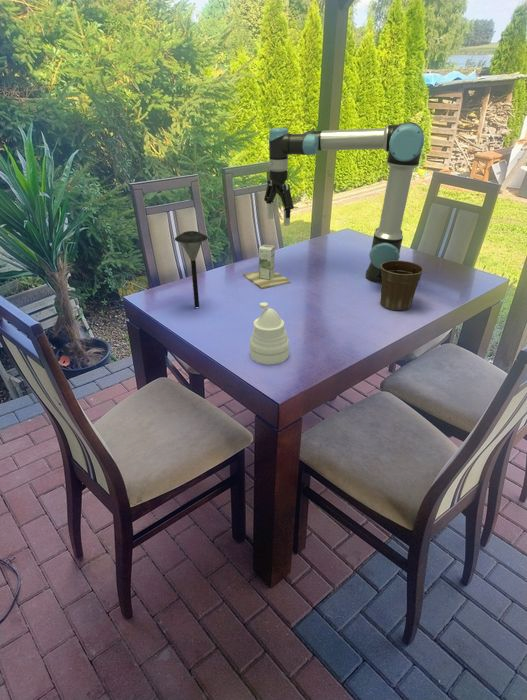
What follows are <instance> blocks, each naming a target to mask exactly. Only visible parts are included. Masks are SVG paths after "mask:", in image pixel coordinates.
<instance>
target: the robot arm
mask: <svg viewBox="0 0 527 700" xmlns="http://www.w3.org/2000/svg"><path fill="white" fill-rule="evenodd" d="M268 137H269V138H268V148H269V149H268V151H269V152H268V153H269V157H268V158H269V163H268V164H269V169H270V170H269V171H268V173H269V174H268V175H269V177H268V178H269V180H267V185H266V191H265V195H264V199H263V201H265V203H266V204H267V206H266V209H267V213H266V214H267V215H266V216H267V217H266V218H267V220H271V219H274V199H275V197H276V196H277V195H278V196H279V197H280V199H281V203H282V205H283V208H284V209H283V226H284V227H288V226H291V210H293V209H294V203H293V202H294V201H293V198H292V193H291V186H290V183H289V184H288V183H287V184H286V181H287V180H288V169H289V164H288V163H289V159H288V157H289V155H299V156H314V155H317V153H318V152H319V151H351V150H352V151H355V150H359V151H362V150H383V151H384V152H385V153H388V154H387V159H386V160H387V161H386V164H387V165H388V166H389V171H388V177H387V182H386V188H385V193H384V197H383V202H382V203H383V205H382V209H381V214H380V221H379V226H378V227H377V228H375V231H374V234H373V238H372V243H371V250H369V251H370V252H369V259H370V263H369V265H368V267H367V269H366V271H365V278H366V279H367V280H368V281H370V282H373V283H377V284H381V283H382V276H381V267H380V266H381V264H382V263H383V262H387V261H394V260H398V261H400V253H401V247H402V243H403V239H404V236H403V230H402V225H403V220H404V215H405V210H406V205H407V200H408V196H409V191H410V186H411V181H412V177H413V172H414V170H415V169H416V168H417V167H418V166H419V163H420V158H421V155H422V149H423V148H424V144H425V143H424V142H425V136H424V131H423V129H422V127H421V126H420V125H419V124H417V123H416V122H412V121H410V122H409V121H408V122H407V121H406V122H403V123H397V124H388V125H387V126H385V127H379V128H358V129H357V128H356V129H355V128H354V129H337V130H336V129H333V130H332V129H331V130H329V129H328V130H327V129H326V130H313V129H312V130H311V129H310V130H307V131H305V132H303V133H289V129H288V128H287V127H274V128H273V127H272V128H270V130H269V135H268Z"/></svg>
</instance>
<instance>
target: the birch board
mask: <svg viewBox="0 0 527 700" xmlns="http://www.w3.org/2000/svg"><path fill="white" fill-rule="evenodd" d="M242 276H243V277H244V276H245V277H246V278H245V277H244V278H245V279H246V280H248V279H249V280H250V281H249V280H248V281H249V282H251V283H252V284H253V283H254V284H253V285H255V286H256V287H258V288H259V289H260V290H264V289H269V288H273V287H278V286H283V285H288V284H291V280H290V279H289V278H287V277H286V276H284V275H282V274H280V273H279V272H278V271H276V270H274V277H273V278H272V279H271V280H267V279H260V278H259V270H256V271H251V272H245V273H243V274H242Z"/></svg>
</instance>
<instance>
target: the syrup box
mask: <svg viewBox="0 0 527 700" xmlns="http://www.w3.org/2000/svg"><path fill="white" fill-rule="evenodd" d="M275 249H276V247H275V245H271V244H262V245H260V246H259V248H258V271H259V278H260V279H267V280H271V279H272V278H273V277H274V271H275V258H276V257H275V254H276V253H275V252H276V251H275Z"/></svg>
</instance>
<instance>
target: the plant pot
mask: <svg viewBox="0 0 527 700" xmlns="http://www.w3.org/2000/svg"><path fill="white" fill-rule="evenodd" d="M380 267H381V276H382V283H380V285H381V286H380V302H379V303H380V304H381V306H382V307H383V308H385V309H388V310H392V311H398V310H400V311H401V312H402V311H407V310H409V309H410V308H411V307H412V304H413V301H414V297H415V293H416V290H417V287H418V284H419V281H420V280H421V277H422V273H423V272H424V267H423V266H422V265H421V264H418V263H415V262H412V261H409V260H394V261H387V262H383V263H382V264H381V266H380Z"/></svg>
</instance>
